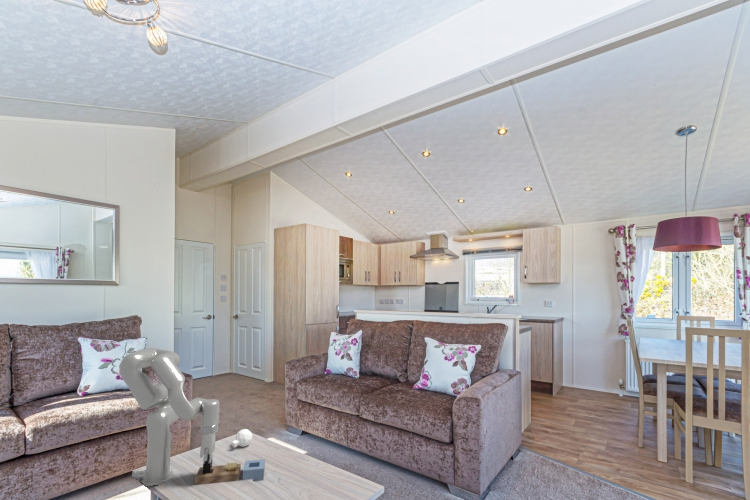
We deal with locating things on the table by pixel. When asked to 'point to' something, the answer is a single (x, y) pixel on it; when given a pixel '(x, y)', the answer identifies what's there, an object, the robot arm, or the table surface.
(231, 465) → the key
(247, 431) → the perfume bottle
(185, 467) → the table surface
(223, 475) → the socket block
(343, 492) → the table surface
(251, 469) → the blue square hole block
